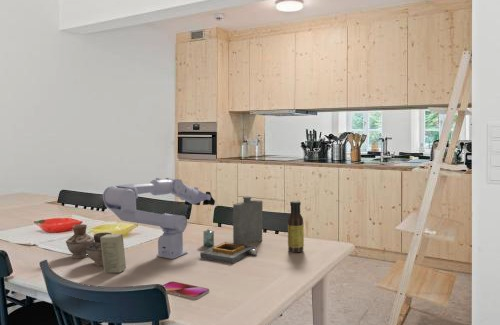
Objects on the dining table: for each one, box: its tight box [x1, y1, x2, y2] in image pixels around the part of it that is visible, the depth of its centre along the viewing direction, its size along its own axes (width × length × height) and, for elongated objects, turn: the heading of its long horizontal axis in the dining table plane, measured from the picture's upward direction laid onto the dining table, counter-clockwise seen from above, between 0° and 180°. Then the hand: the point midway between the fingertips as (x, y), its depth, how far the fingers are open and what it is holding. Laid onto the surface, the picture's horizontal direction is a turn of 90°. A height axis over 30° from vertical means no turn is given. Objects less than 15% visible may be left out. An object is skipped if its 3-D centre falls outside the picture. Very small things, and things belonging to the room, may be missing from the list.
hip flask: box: [232, 195, 263, 245], centre depth 174 cm, size 16×4×20 cm, turn 133°
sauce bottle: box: [287, 200, 305, 253], centre depth 161 cm, size 6×6×20 cm
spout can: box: [202, 228, 215, 248], centre depth 169 cm, size 4×4×7 cm
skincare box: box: [100, 233, 127, 273], centre depth 137 cm, size 6×4×12 cm
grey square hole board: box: [200, 241, 258, 264], centre depth 156 cm, size 18×17×3 cm
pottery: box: [65, 223, 113, 267], centre depth 149 cm, size 11×25×12 cm, turn 55°
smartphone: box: [163, 281, 210, 300], centre depth 120 cm, size 7×1×15 cm
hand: (206, 202), depth 173 cm, fingers open, 7 cm apart
